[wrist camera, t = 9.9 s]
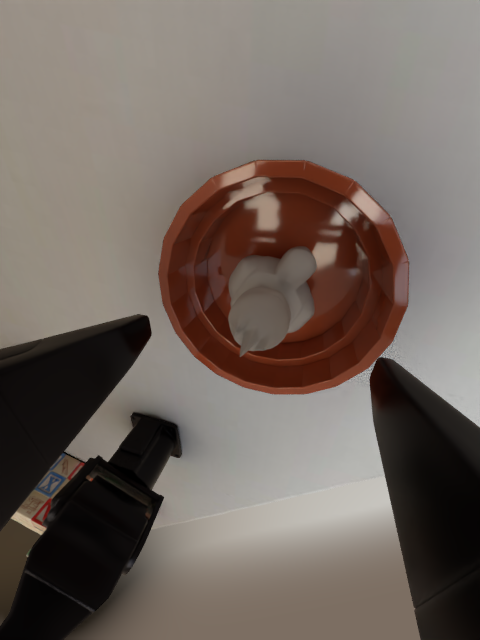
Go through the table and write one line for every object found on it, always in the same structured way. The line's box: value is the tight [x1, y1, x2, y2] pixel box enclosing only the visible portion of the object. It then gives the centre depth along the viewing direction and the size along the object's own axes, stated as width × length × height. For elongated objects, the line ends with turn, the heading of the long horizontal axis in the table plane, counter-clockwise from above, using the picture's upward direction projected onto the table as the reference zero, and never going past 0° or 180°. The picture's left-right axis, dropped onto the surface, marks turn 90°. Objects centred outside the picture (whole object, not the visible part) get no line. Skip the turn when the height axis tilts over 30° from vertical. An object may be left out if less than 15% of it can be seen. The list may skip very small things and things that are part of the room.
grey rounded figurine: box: [228, 246, 317, 357], centre depth 13 cm, size 5×7×8 cm
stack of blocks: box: [11, 453, 93, 557], centre depth 39 cm, size 21×6×12 cm, turn 74°
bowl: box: [158, 160, 409, 394], centre depth 15 cm, size 13×13×5 cm
